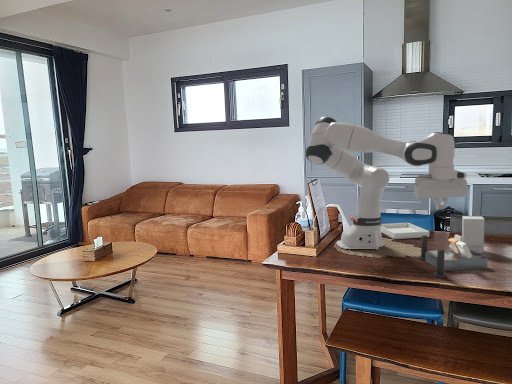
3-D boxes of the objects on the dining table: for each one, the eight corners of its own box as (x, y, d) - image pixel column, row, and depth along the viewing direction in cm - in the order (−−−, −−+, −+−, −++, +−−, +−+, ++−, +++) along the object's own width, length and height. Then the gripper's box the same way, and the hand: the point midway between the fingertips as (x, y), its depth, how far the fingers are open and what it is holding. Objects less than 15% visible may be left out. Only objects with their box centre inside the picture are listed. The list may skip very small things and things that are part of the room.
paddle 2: (468, 258, 141) (462, 245, 140) (461, 255, 145) (455, 243, 144) (472, 256, 141) (466, 243, 140) (465, 253, 145) (459, 240, 144)
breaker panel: (443, 271, 141) (443, 259, 140) (424, 260, 154) (425, 250, 153) (487, 268, 143) (487, 256, 142) (465, 258, 155) (465, 247, 155)
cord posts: (435, 277, 134) (436, 251, 133) (417, 257, 159) (417, 234, 158) (448, 278, 134) (449, 251, 132) (427, 257, 158) (428, 234, 157)
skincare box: (482, 250, 166) (483, 216, 164) (484, 254, 160) (485, 219, 158) (460, 248, 169) (462, 215, 167) (462, 252, 163) (463, 218, 161)
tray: (394, 239, 189) (394, 233, 189) (376, 229, 211) (376, 224, 211) (429, 237, 191) (429, 231, 190) (408, 227, 213) (408, 222, 212)
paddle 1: (454, 249, 151) (461, 236, 150) (448, 246, 155) (455, 234, 154) (458, 251, 151) (465, 238, 150) (452, 248, 155) (459, 235, 154)
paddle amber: (460, 255, 146) (453, 242, 145) (454, 252, 150) (447, 239, 149) (464, 252, 146) (457, 240, 145) (457, 249, 150) (451, 237, 149)
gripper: (419, 175, 139) (418, 211, 141) (470, 173, 141) (469, 209, 142) (411, 174, 145) (410, 208, 147) (460, 172, 147) (459, 206, 149)
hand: (440, 209), depth 145 cm, fingers closed
